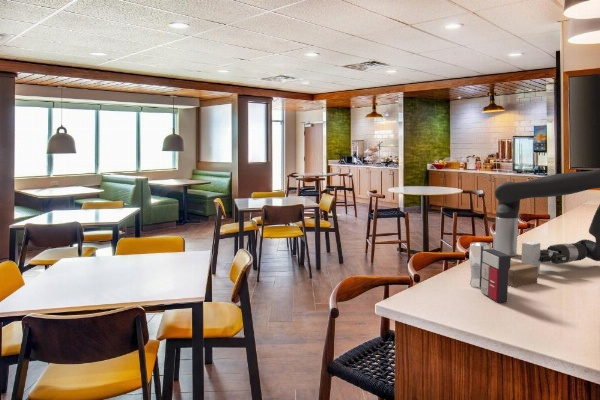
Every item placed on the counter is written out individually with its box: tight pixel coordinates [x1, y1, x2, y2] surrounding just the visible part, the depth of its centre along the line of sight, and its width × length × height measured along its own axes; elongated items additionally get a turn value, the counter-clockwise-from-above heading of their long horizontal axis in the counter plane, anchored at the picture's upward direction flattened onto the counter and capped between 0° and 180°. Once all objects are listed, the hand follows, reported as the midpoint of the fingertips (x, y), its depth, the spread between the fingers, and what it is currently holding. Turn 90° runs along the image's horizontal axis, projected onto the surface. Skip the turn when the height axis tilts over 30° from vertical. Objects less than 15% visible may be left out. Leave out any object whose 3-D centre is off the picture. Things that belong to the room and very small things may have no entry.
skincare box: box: [521, 241, 541, 275], centre depth 178 cm, size 6×4×12 cm
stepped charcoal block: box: [480, 248, 512, 304], centre depth 149 cm, size 11×4×15 cm, turn 5°
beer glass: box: [469, 241, 491, 289], centre depth 162 cm, size 7×7×15 cm
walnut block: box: [508, 259, 539, 288], centre depth 168 cm, size 12×12×6 cm
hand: (531, 257), depth 178 cm, fingers open, 8 cm apart
